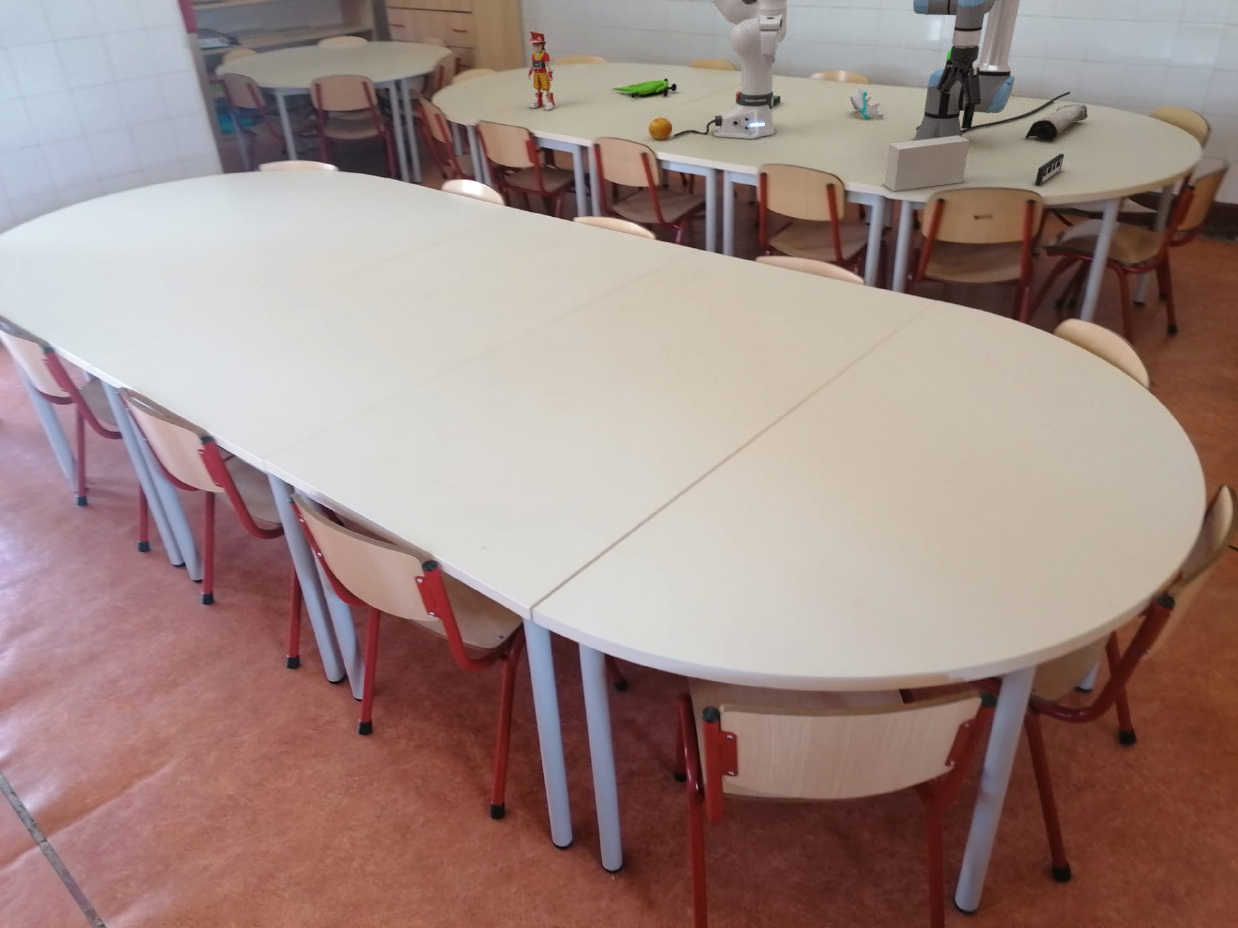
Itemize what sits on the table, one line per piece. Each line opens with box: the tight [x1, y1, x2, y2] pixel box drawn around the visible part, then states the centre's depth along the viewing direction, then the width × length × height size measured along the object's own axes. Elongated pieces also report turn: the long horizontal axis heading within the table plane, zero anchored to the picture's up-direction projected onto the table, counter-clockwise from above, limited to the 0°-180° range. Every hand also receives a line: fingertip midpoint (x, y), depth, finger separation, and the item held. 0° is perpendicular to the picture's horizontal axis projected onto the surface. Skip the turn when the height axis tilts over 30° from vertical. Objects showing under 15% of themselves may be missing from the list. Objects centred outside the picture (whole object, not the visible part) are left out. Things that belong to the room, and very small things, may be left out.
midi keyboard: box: [1035, 153, 1065, 186], centre depth 273 cm, size 18×1×5 cm, turn 138°
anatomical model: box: [850, 88, 884, 120], centre depth 343 cm, size 15×10×10 cm
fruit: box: [648, 117, 673, 140], centre depth 332 cm, size 8×8×8 cm
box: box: [884, 135, 970, 192], centre depth 273 cm, size 23×6×12 cm, turn 103°
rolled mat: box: [1024, 103, 1089, 142], centre depth 314 cm, size 30×9×10 cm
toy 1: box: [527, 31, 556, 111], centre depth 374 cm, size 12×9×30 cm
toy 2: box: [612, 78, 677, 99], centre depth 396 cm, size 28×5×30 cm
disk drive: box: [772, 94, 781, 107], centre depth 365 cm, size 10×3×15 cm
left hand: (770, 66), depth 289 cm, fingers open, 8 cm apart
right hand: (954, 122), depth 268 cm, fingers open, 13 cm apart
